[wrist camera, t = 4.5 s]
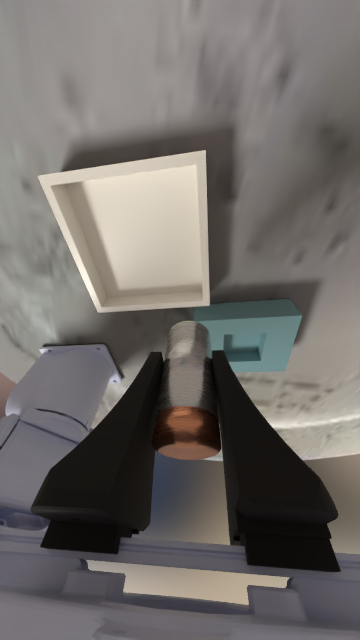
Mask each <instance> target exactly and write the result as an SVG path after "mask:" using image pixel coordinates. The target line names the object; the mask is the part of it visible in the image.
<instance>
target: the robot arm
mask: <svg viewBox="0 0 360 640" xmlns="http://www.w3.org/2000/svg"><path fill="white" fill-rule="evenodd" d="M39 350H40V352H41V353H42V355H41V356H40V358H39V359H38V360H37V361H36V362H35V364H34V365H33V366H32V367H31V368H30V370H29V371H28V372H27V373H26V374H25V376H24V377H23V378H22V379H21V380H20V382H19V383H18V384H17V385H16V386H15V388H14V389H13V390H12V392H11V394H10V395H9V398H8V401H7V404H6V416H5V417H3V418H1V419H0V640H360V555H359V554H345V553H334V551H333V548H332V545H331V543H330V540H329V539H331V534H330V531H329V529H328V526H327V523H329V522H331V521H333V520H335V519H336V518H337V517H338V512H337V509H336V507H335V504H334V502H333V500H332V498H331V496H330V494H329V493H328V491H327V489H326V487H325V486H324V484H323V482H322V480H321V479H320V477H319V476H318V475H316V473H315V472H314V471H312V469H311V468H310V467H308V466H307V465H306V464H305V462H303V460H302V459H301V458H300V457H299V456H298V455H297V454H296V453H295V452H294V451H293V450H292V449H291V448H290V447H289V446H288V445H287V444H286V443H285V441H284V440H283V439H282V438H281V437H280V436H279V435H278V433H277V432H276V431H275V430H274V429H273V428H272V427H271V425H270V424H269V423H268V422H267V421H266V419H265V418H264V417H263V415H262V414H261V413H260V412H259V410H258V409H257V408H256V406H255V405H254V404H253V402H252V401H251V399H250V398H249V396H248V395H247V393H246V392H245V390H244V389H243V387H242V386H241V384H240V382H239V381H238V379H237V377H236V375H235V374H234V372H233V370H232V368H231V366H230V364H229V362H228V360H227V357H226V355H225V352H224V351H223V350H212V365H213V374H214V381H215V389H216V399H217V409H218V418H219V425H220V431H221V441H222V451H223V463H224V474H225V485H226V498H227V510H228V524H229V536H230V545H220V544H207V543H192V542H179V541H166V540H152V539H138V538H131V537H132V534H139V531H144V530H145V529H146V528H147V527H148V525H149V524H150V515H151V498H152V482H153V469H154V458H155V449H154V448H153V447H152V444H151V442H152V435H153V429H154V423H155V416H156V410H157V403H158V397H159V391H160V384H161V378H162V371H163V365H164V362H163V357H162V353H161V352H151V353H150V354H149V356H148V358H147V360H146V362H145V363H144V365H143V367H142V368H141V370H140V372H139V373H138V375H137V376H136V378H135V379H134V381H133V382H132V384H131V385H130V387H129V388H128V390H127V391H126V392H125V394H124V395H123V396H122V398H121V399H120V400H119V402H118V403H117V404H116V405H115V406H114V408H113V409H112V410H111V411H110V412H109V413H108V415H107V416H106V417H105V418H104V419H103V420H102V421H101V422H100V423H99V424H98V425H97V427H96V428H95V429H94V430H93V431H92V432H91V433H89V430H90V427H91V425H92V422H93V420H94V418H95V415H96V413H97V410H98V408H99V405H100V403H101V400H102V398H103V395H104V393H105V390H106V388H107V386H108V383H121V381H122V379H121V376H120V374H119V372H118V370H117V368H116V366H115V364H114V362H113V359H112V357H111V355H110V353H109V351H108V349H107V347H106V346H105V345H104V344H95V345H73V346H50V347H41V348H40V349H39ZM86 560H95V561H107V562H120V563H130V564H143V565H154V566H165V567H177V568H188V569H200V570H212V571H223V572H235V573H246V574H258V575H269V576H280V577H292V578H289V580H288V581H287V586H286V588H275V587H264V586H253V585H248V587H247V592H248V600H249V605H243V604H235V603H227V602H219V601H211V600H202V599H193V598H182V597H173V596H161V595H148V594H136V593H124V592H123V588H124V582H125V577H126V576H125V574H123V573H112V572H102V571H91V570H89V569H88V564H87V561H86Z"/></svg>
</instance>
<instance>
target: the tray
mask: <svg viewBox="0 0 360 640" xmlns="http://www.w3.org/2000/svg"><path fill="white" fill-rule="evenodd" d="M38 178H39V181H40V183H41V185H42V187H43V190H44V192H45V194H46V196H47V199H48V201H49V203H50V205H51V208H52V210H53V212H54V214H55V217H56V219H57V221H58V224H59V226H60V228H61V230H62V233H63V235H64V237H65V239H66V242H67V244H68V246H69V248H70V251H71V253H72V255H73V257H74V260H75V262H76V264H77V266H78V269H79V271H80V273H81V275H82V278H83V280H84V282H85V284H86V287H87V289H88V291H89V293H90V296H91V298H92V300H93V302H94V305H95V307H96V309H97V312H98V313H103V312H118V311H134V310H149V309H165V308H180V307H196V306H210V293H209V255H208V217H207V179H206V150H203V151H196V152H190V153H183V154H177V155H170V156H164V157H157V158H151V159H144V160H138V161H131V162H125V163H118V164H112V165H105V166H99V167H92V168H86V169H79V170H73V171H66V172H60V173H53V174H47V175H40V176H38Z"/></svg>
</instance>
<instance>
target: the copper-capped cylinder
mask: <svg viewBox="0 0 360 640" xmlns="http://www.w3.org/2000/svg"><path fill="white" fill-rule="evenodd" d="M151 444H152V447H153V448H154V449H155V450H156V451H157V452H159V453H161V454H163V455H165V456H168V457H172V458H177V459H186V460H193V459H194V460H195V459H204V458H208V457H211V456H214V455H216V454H217V453H219V452H220V450H221V438H220V428H219V418H218V409H217V399H216V389H215V381H214V374H213V365H212V350H211V340H210V333H209V331H208V329H207V328H206V327H205V326H204V325H202V324H201V323H198V322H195V321H182V322H179V323H177V324H175V325H174V326H173V327H172V328H171V329H170V331H169V333H168V339H167V346H166V352H165V359H164V365H163V371H162V378H161V384H160V391H159V397H158V403H157V410H156V416H155V423H154V429H153V435H152V442H151Z"/></svg>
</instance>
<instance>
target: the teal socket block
mask: <svg viewBox="0 0 360 640" xmlns="http://www.w3.org/2000/svg"><path fill="white" fill-rule="evenodd" d="M302 316H303V315H302V314H301V313H300V311H299V310H298V309H297V307H296V306H295V305H294V303H293V302H292V301H291V300H290V299H277V300H261V301H246V302H231V303H216V304H210V306H196V307H194V321H195V322H198V323H201V324H202V325H204V326H205V327H206V328H207V329H208V331H209V333H210V340H211V350H223V351H224V352H225V355H226V357H227V360H228V362H229V364H230V366H231V368H232V370H233V372H270V371H285V369H286V366H287V362H288V359H289V356H290V353H291V350H292V347H293V344H294V341H295V338H296V335H297V331H298V328H299V325H300V322H301V319H302Z"/></svg>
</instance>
